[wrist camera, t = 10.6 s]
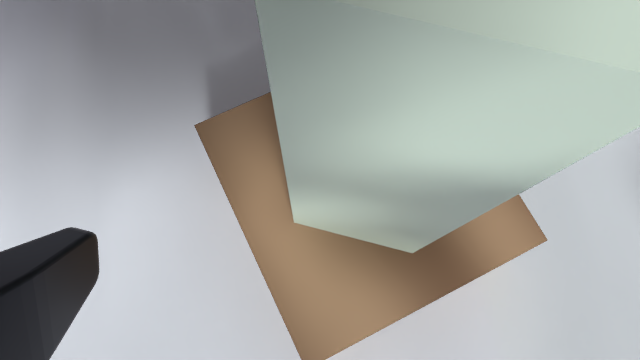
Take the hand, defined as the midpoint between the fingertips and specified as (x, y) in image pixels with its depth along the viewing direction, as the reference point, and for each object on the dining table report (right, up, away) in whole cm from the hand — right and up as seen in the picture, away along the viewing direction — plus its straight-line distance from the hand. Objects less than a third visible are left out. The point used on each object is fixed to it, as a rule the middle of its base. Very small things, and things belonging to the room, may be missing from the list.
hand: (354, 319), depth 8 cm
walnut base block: (+1, +1, +14) cm, 14 cm away
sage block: (+1, +2, +10) cm, 10 cm away
